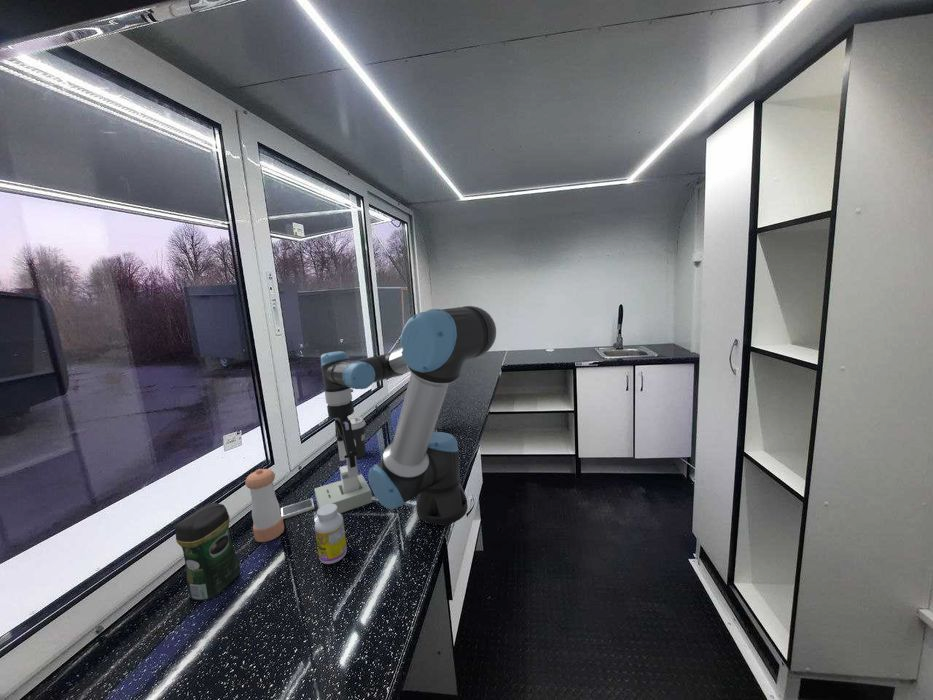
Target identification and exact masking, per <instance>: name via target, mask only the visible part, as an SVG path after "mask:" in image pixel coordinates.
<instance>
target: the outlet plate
mask: <svg viewBox="0 0 933 700" xmlns="http://www.w3.org/2000/svg"><path fill="white" fill-rule="evenodd" d="M358 484H359V490H356V491H353V492H350V493H347V494H344V495H343V491H342V483H341V480H337V481H335V482H334V481H333V482H330V483H327V484H325V485H321V486H319V487H315V488H314V495H315V496H314V497H315V501H316V505H317V510H318V509H319V508H320V507H322V506H323V505H326V504H336V505H337V509H338V513H340V514H343V513H345V512H348V511H350V510H351V511H352V510H354V509H356V508H360V507H362V506H366V505H368V504H370V503H371V504H372V503H373V495H372V488H371V487H370V486H369V485H368V483H367V480H366V479H365V477H364V476H363V474H362V473H361V474H358Z"/></svg>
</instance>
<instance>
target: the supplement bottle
mask: <svg viewBox="0 0 933 700" xmlns="http://www.w3.org/2000/svg"><path fill="white" fill-rule="evenodd" d="M316 515H317V519H316V520H315V523H314V532H315V541H316V547H317V555H318V559H319V561H320V563H323V564H324V565H331V564H335V563H337V562H339V561H340V560H342V559H343V558H344V557H345V556H346V554H347V551H348V547H347V539H346V531H345V530H346V529H345V523H344V516H343V515H342V513H338V509H337V505H336V504H326V505H323V506H322V507H320V508H319V509H318V508H317V510H316Z"/></svg>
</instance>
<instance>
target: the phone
mask: <svg viewBox="0 0 933 700" xmlns="http://www.w3.org/2000/svg"><path fill="white" fill-rule="evenodd" d="M315 509H316V507H315V504H314V500H313V497H311V498H308V499H306V500H302V501H298V502H295V503H292V504H290V505H286V506H283V507H281V508H280V515H281V516H282V517H283V520H285V519H289V518H292V517H294V516H298V515H301V514H304V513H308V512H310V511H312V510H315Z"/></svg>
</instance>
